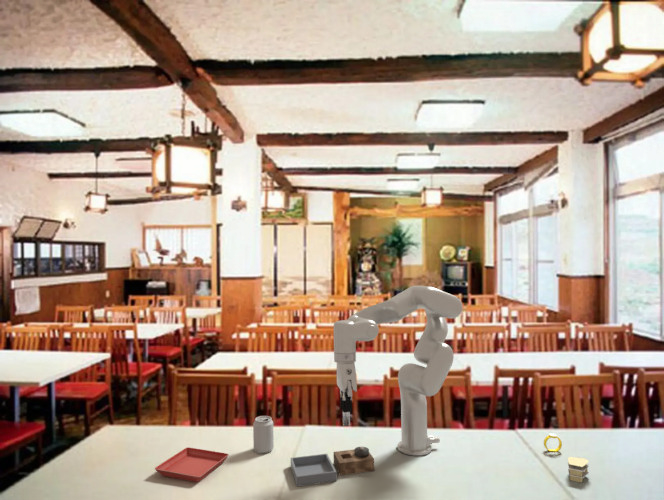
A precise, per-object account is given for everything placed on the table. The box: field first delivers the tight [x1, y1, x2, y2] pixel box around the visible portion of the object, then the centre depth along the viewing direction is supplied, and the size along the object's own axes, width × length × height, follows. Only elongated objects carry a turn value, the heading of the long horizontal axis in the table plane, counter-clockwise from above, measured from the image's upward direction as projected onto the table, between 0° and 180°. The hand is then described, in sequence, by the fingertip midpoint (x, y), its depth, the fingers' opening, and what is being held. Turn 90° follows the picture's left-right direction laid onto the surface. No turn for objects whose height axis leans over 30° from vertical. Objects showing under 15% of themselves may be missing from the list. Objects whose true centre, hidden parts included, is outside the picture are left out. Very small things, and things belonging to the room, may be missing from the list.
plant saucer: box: [154, 446, 229, 483], centre depth 158 cm, size 18×18×3 cm
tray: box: [290, 453, 338, 487], centre depth 153 cm, size 13×14×3 cm
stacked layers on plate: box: [567, 456, 590, 483], centre depth 148 cm, size 10×9×6 cm
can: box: [252, 415, 275, 454], centre depth 172 cm, size 8×8×12 cm
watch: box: [543, 433, 563, 453], centre depth 167 cm, size 6×3×6 cm, turn 88°
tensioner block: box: [333, 446, 375, 476], centre depth 157 cm, size 12×9×6 cm
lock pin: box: [342, 396, 351, 427], centre depth 157 cm, size 2×2×10 cm
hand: (346, 409), depth 157 cm, fingers closed on lock pin, 2 cm apart
